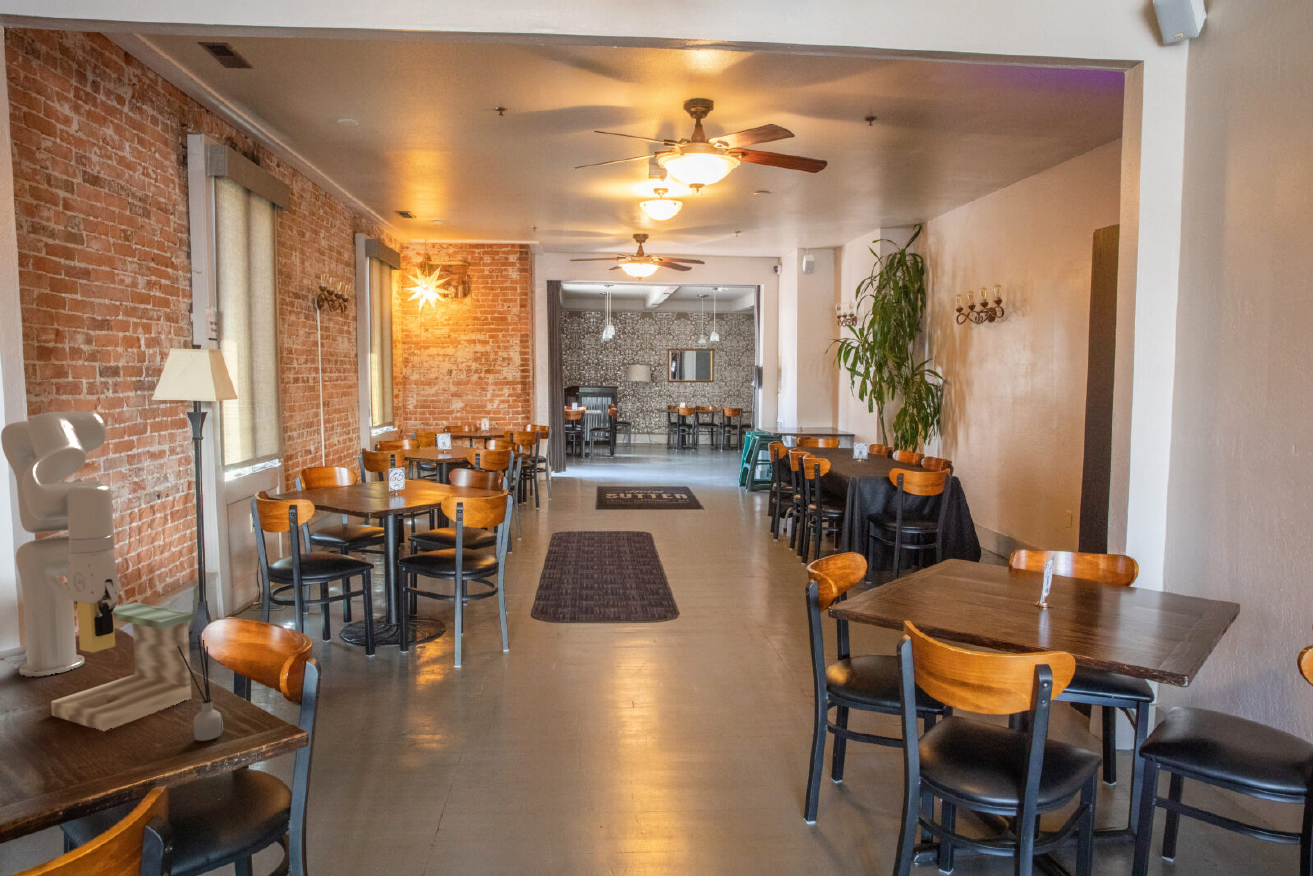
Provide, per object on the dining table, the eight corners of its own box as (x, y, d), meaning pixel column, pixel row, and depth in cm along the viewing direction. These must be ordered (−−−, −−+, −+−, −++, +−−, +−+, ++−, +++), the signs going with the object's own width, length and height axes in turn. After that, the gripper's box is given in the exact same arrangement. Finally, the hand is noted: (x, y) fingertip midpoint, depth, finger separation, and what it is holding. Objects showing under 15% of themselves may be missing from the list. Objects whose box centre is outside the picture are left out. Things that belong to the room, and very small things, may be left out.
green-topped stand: (49, 714, 165) (44, 625, 164) (139, 684, 182) (135, 602, 181) (107, 732, 157) (102, 638, 155) (196, 698, 173) (192, 613, 172)
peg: (79, 649, 163) (76, 592, 162) (102, 643, 167) (99, 587, 166) (92, 652, 161) (89, 594, 160) (115, 646, 165) (112, 589, 164)
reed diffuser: (227, 743, 152) (223, 640, 150) (186, 754, 147) (181, 648, 146) (216, 726, 159) (212, 628, 158) (177, 735, 155) (172, 635, 154)
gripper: (48, 545, 163) (53, 633, 164) (97, 551, 155) (102, 643, 157) (87, 539, 169) (92, 623, 171) (136, 544, 162) (141, 632, 163)
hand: (97, 632), depth 164 cm, fingers closed on peg, 4 cm apart
